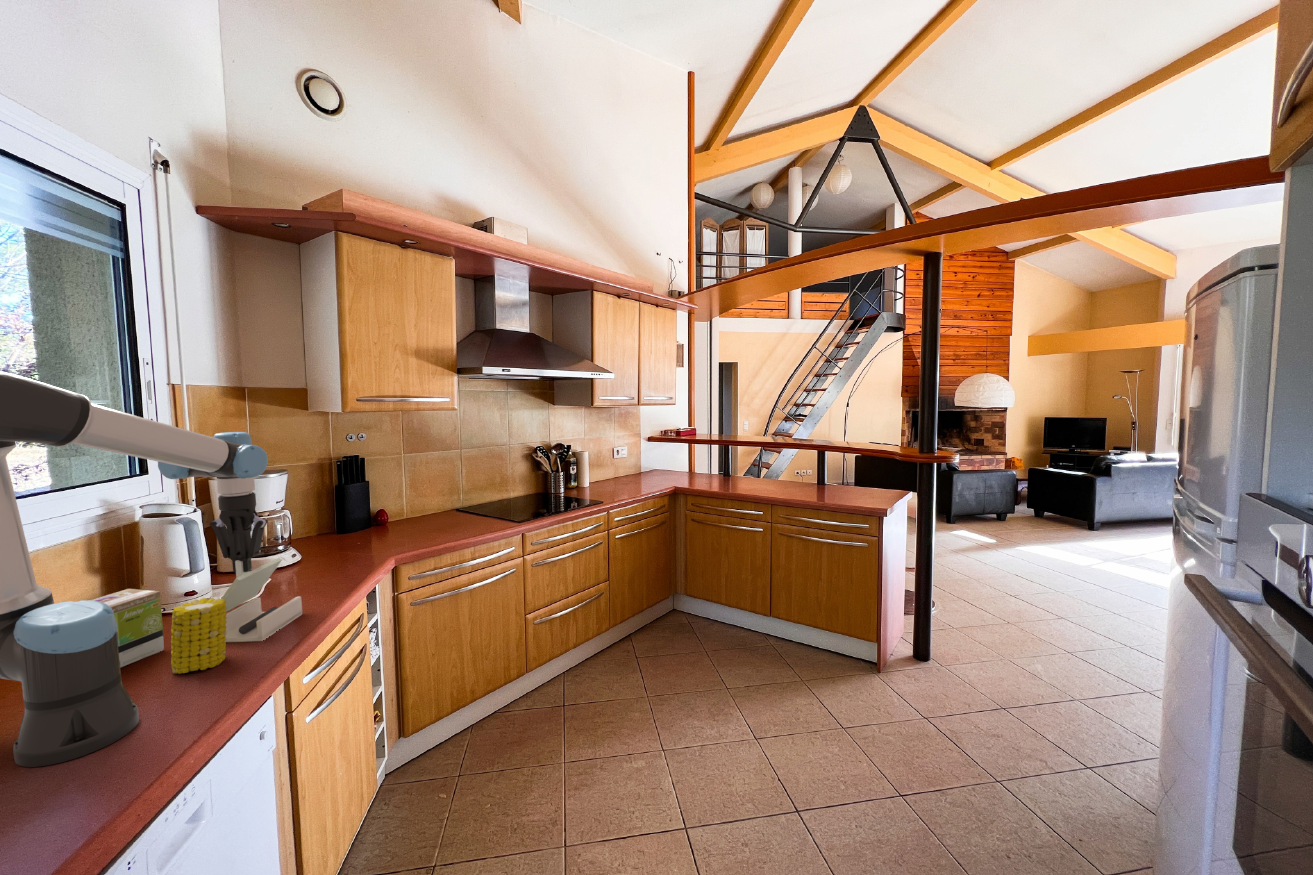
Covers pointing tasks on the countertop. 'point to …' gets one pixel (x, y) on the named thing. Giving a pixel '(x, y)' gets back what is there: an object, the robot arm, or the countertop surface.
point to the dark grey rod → (254, 622)
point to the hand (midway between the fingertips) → (243, 583)
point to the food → (198, 635)
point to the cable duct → (260, 620)
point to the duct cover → (248, 584)
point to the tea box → (136, 623)
